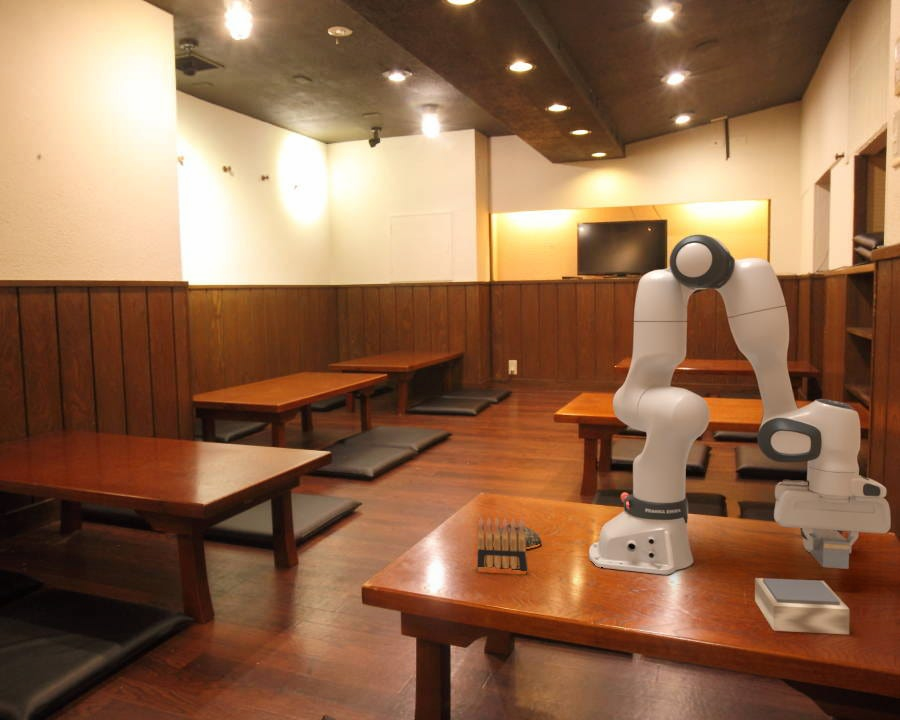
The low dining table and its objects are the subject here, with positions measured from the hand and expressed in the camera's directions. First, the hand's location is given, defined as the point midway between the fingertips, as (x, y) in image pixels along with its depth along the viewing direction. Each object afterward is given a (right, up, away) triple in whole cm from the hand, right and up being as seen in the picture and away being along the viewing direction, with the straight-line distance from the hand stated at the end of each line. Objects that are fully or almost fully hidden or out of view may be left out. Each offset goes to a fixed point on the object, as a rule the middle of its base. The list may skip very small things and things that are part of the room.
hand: (829, 550), depth 134 cm
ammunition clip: (-64, -8, +12) cm, 66 cm away
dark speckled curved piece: (-60, -7, +29) cm, 67 cm away
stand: (-12, -8, -13) cm, 20 cm away
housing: (0, -2, 0) cm, 2 cm away
